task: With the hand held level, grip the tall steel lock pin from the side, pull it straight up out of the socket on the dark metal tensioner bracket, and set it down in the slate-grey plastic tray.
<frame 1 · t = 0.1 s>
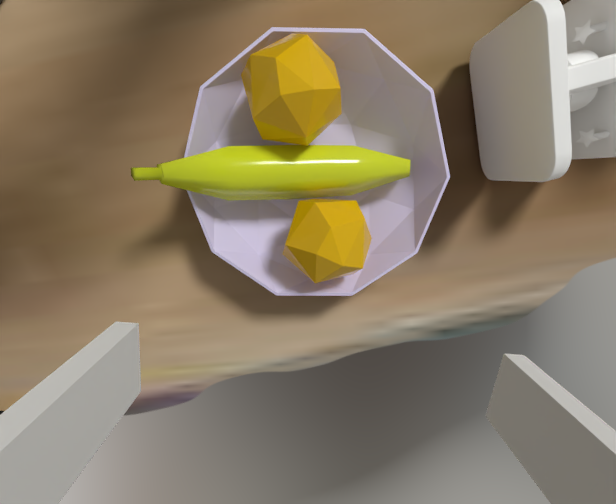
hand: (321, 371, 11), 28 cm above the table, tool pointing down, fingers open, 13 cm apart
fruit bowl: (305, 172, 37), on the table
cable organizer: (514, 103, 35), on the table
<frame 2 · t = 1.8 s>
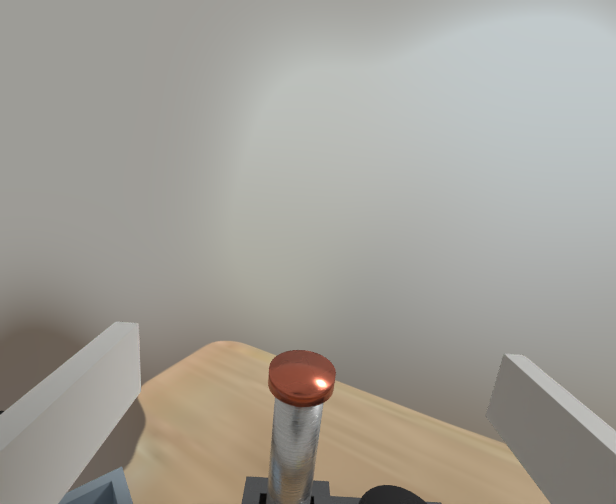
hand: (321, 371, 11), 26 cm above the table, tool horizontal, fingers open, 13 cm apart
lock pin: (291, 472, 25), in the tensioner bracket
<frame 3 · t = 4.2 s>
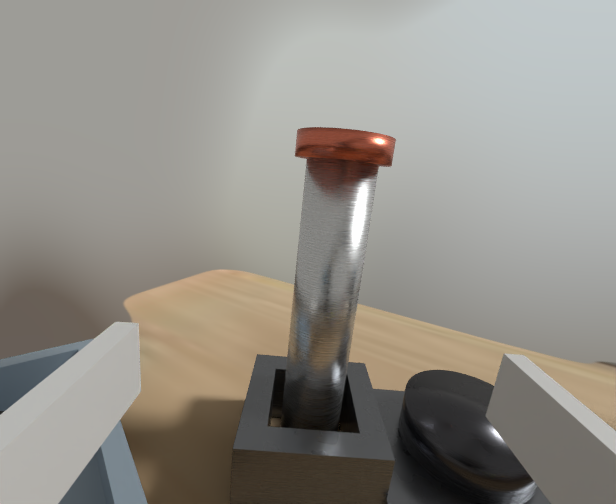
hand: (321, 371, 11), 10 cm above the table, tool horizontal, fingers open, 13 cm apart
tensioner bracket: (306, 449, 20), on the table
lock pin: (323, 314, 18), in the tensioner bracket
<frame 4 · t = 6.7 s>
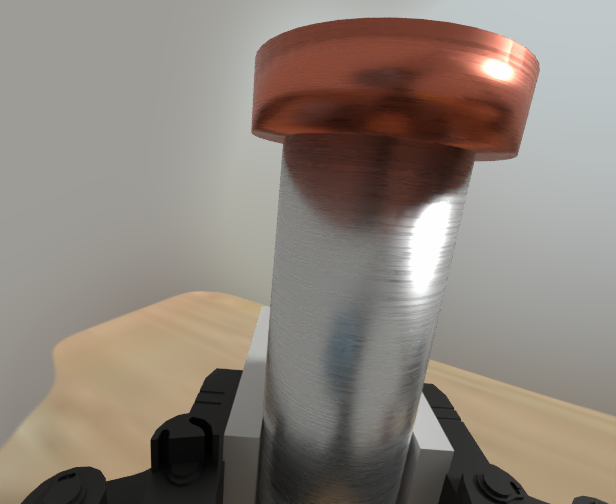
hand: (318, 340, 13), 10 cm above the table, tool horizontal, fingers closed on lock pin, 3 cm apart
lock pin: (325, 479, 8), in the tensioner bracket, touching gripper
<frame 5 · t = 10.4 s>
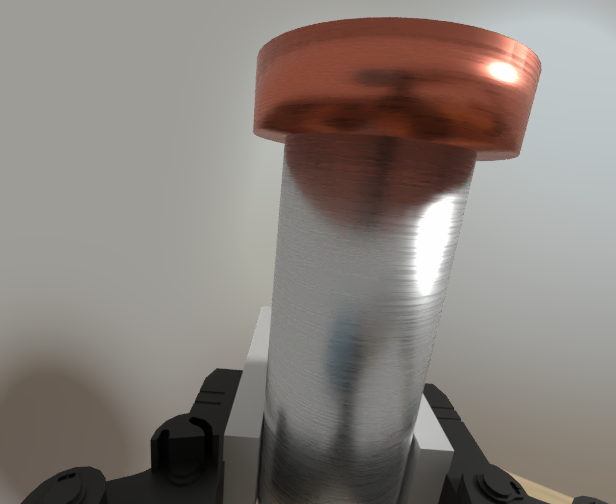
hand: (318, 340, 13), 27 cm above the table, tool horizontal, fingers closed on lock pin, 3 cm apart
lock pin: (326, 478, 8), point 26 cm above the table, touching gripper
when the fingers open (13 cm above the table, at t = 14.3 s): lock pin drops 1 cm, resting on tray.
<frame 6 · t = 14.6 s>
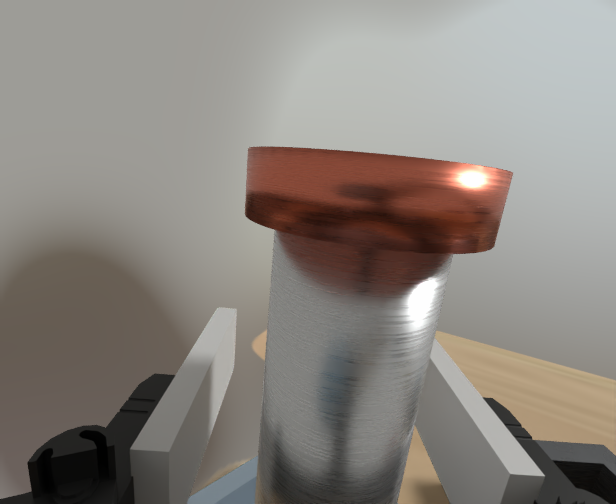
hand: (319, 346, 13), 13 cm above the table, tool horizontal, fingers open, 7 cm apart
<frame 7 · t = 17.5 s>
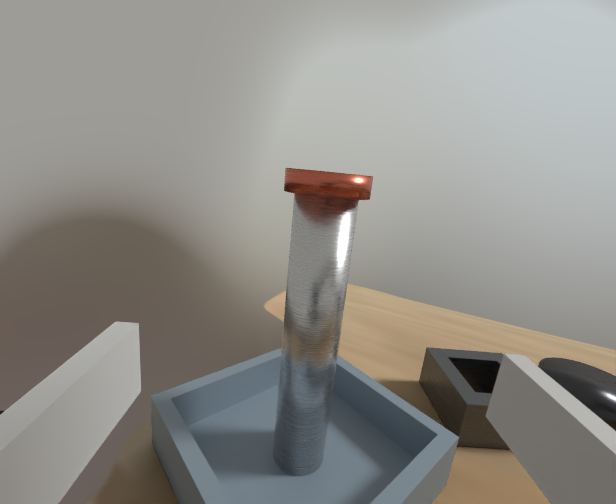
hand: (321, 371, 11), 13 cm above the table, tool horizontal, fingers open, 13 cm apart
tray: (296, 462, 22), on the table
tensioner bracket: (476, 411, 29), on the table
lock pin: (311, 329, 19), in the tray, point 11 cm above the table
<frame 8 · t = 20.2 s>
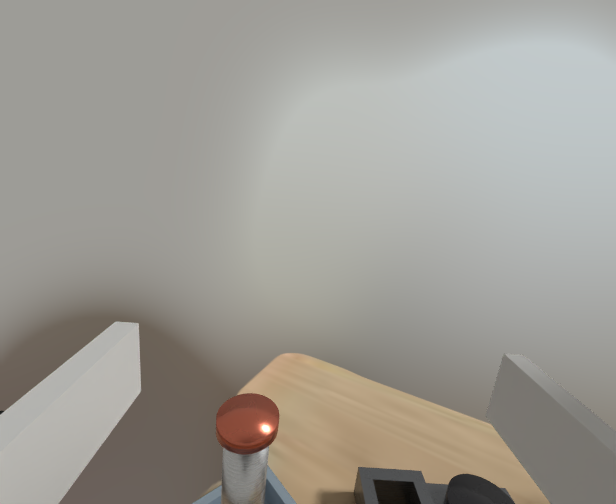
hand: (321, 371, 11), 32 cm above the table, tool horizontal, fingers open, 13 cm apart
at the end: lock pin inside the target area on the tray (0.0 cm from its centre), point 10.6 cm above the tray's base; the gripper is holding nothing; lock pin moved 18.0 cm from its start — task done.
